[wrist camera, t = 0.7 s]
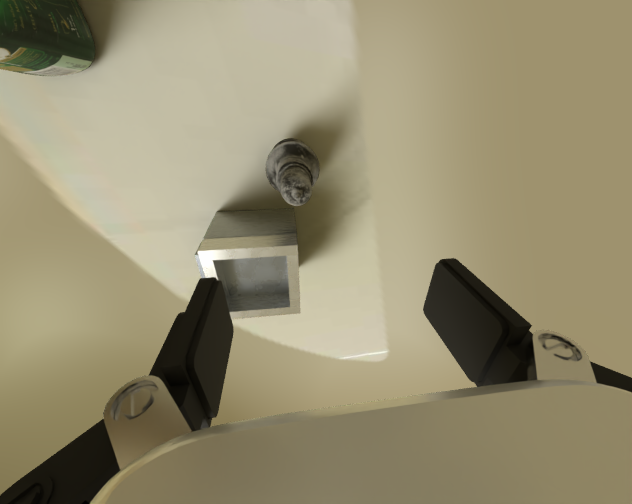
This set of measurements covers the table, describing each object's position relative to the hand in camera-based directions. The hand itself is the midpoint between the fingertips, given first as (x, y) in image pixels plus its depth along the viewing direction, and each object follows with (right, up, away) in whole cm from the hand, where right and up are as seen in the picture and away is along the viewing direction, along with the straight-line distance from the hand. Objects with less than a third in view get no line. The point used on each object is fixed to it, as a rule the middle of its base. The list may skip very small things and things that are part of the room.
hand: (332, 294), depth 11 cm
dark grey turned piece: (-4, +13, +20) cm, 24 cm away
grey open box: (-10, +2, +26) cm, 27 cm away
